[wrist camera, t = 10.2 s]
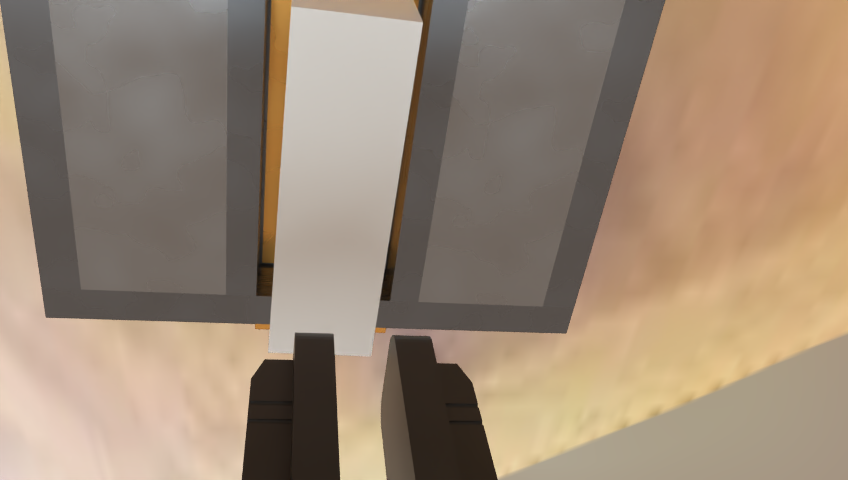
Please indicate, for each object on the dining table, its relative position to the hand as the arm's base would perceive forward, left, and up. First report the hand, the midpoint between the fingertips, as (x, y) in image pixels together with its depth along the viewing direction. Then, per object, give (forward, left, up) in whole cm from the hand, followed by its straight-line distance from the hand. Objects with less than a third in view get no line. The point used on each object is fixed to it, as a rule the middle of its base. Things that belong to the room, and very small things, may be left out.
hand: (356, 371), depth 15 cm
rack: (0, 0, -13) cm, 13 cm away
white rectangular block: (0, 0, -12) cm, 12 cm away
